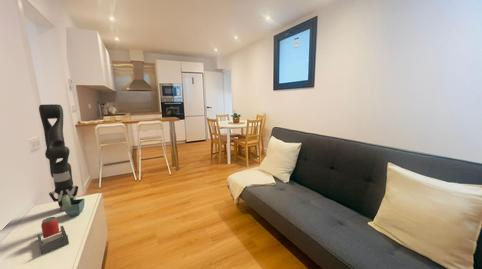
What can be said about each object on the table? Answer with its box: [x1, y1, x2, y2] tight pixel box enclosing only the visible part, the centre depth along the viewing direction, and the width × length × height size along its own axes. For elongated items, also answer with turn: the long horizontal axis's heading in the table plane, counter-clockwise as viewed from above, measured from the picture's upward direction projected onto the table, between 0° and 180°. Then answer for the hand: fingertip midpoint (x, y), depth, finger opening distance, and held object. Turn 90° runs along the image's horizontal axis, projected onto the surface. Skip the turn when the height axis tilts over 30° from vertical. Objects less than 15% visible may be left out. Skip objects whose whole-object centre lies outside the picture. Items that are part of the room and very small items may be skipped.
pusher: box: [41, 231, 63, 245], centre depth 108 cm, size 1×8×4 cm, turn 139°
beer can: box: [41, 216, 61, 239], centre depth 111 cm, size 7×7×12 cm
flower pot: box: [64, 198, 86, 217], centre depth 135 cm, size 9×9×9 cm
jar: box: [61, 194, 72, 209], centre depth 123 cm, size 4×4×9 cm
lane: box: [37, 225, 70, 256], centre depth 109 cm, size 18×11×5 cm, turn 49°
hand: (66, 204), depth 123 cm, fingers closed on jar, 4 cm apart
